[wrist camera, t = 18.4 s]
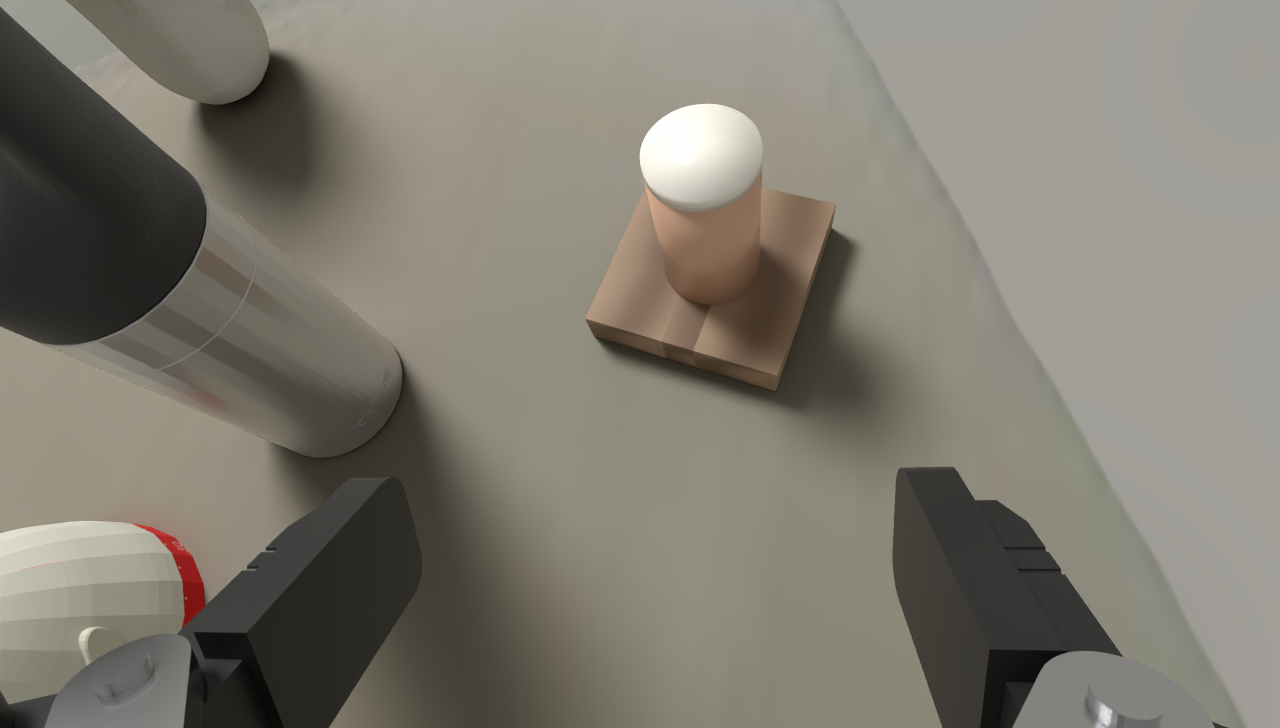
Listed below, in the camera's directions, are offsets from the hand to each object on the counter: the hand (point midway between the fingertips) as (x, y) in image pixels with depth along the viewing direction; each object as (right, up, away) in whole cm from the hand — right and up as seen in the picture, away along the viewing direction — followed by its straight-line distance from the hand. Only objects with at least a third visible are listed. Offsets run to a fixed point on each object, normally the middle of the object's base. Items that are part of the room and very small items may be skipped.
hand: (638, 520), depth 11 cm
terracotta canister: (+4, +9, +30) cm, 31 cm away
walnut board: (+5, +8, +32) cm, 33 cm away
